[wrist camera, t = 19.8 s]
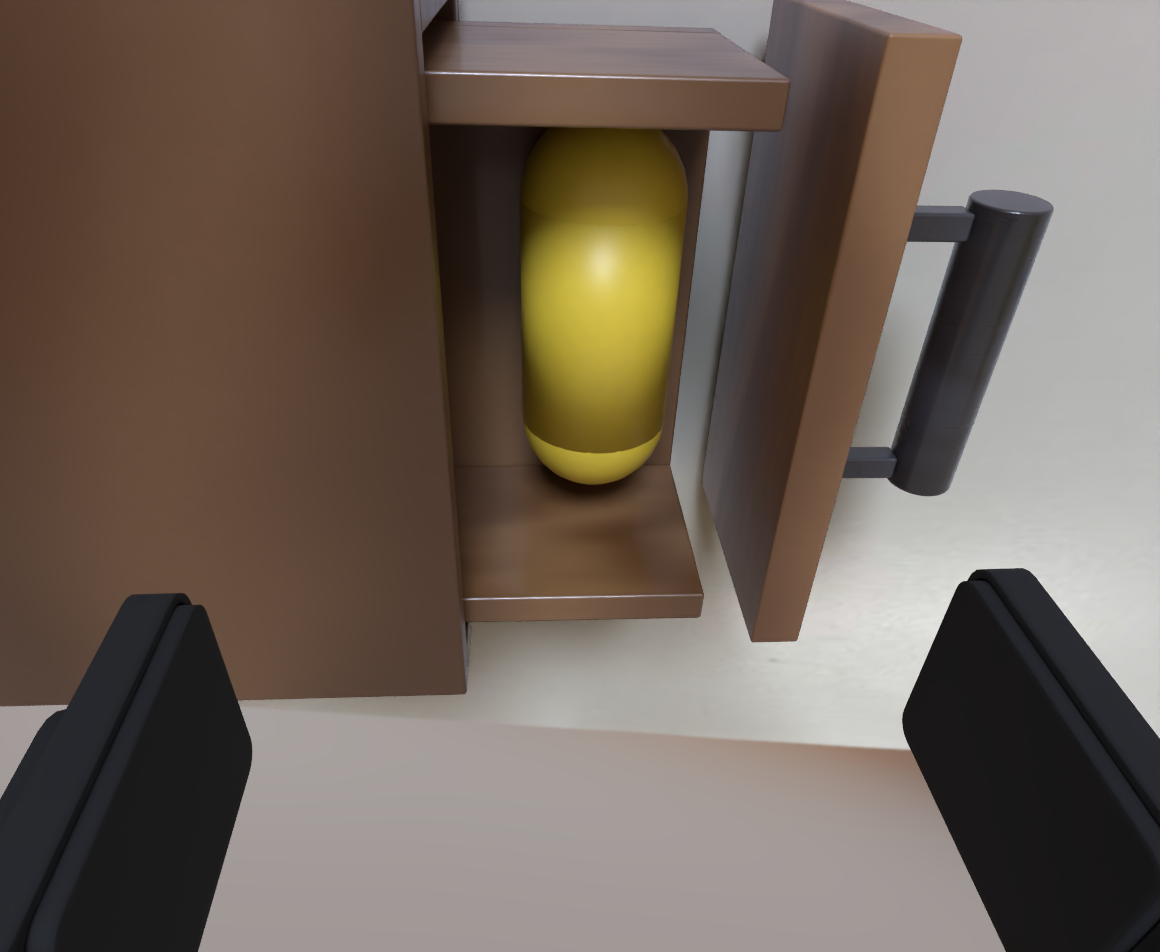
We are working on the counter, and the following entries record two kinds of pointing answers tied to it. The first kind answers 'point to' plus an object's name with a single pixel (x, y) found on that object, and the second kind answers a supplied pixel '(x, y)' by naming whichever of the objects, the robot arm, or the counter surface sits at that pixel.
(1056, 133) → the counter surface
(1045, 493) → the counter surface
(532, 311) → the yellow pill capsule
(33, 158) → the cabinet
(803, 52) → the drawer
